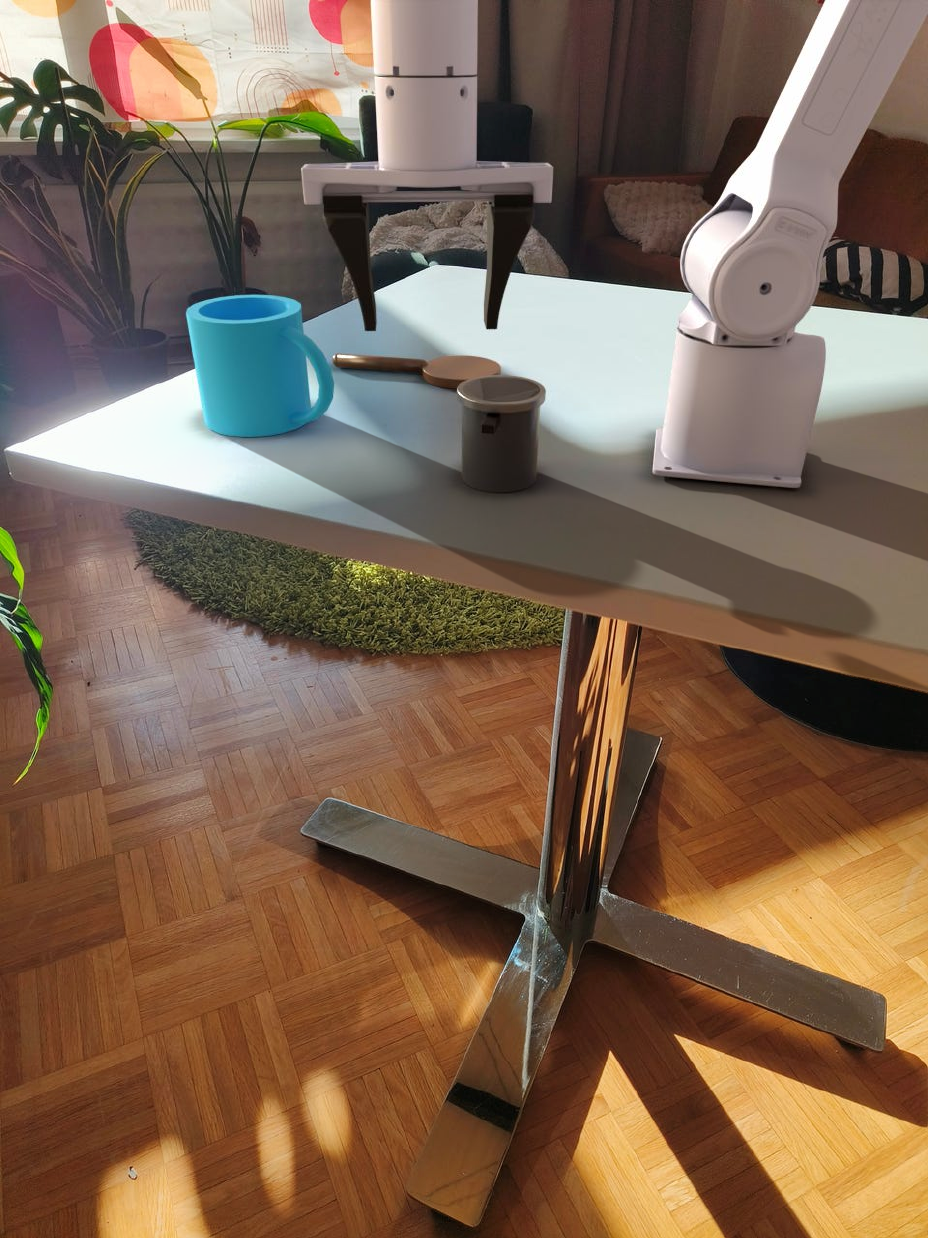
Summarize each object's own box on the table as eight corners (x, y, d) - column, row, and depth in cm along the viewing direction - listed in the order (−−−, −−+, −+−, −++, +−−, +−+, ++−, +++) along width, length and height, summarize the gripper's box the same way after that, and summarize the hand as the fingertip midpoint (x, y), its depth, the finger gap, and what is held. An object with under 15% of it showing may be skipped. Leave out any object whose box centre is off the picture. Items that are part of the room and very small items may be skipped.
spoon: (506, 366, 77) (507, 353, 77) (492, 391, 72) (493, 377, 71) (345, 355, 80) (344, 342, 79) (320, 378, 74) (318, 364, 74)
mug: (181, 421, 66) (161, 311, 61) (259, 392, 71) (246, 289, 67) (297, 457, 60) (283, 339, 56) (371, 422, 66) (365, 312, 61)
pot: (546, 463, 59) (551, 378, 56) (530, 509, 53) (535, 416, 50) (466, 456, 60) (467, 371, 57) (442, 500, 54) (441, 409, 51)
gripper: (545, 73, 51) (535, 308, 59) (301, 73, 51) (322, 311, 58) (564, 77, 46) (549, 337, 53) (288, 77, 45) (313, 341, 52)
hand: (430, 326), depth 55 cm, fingers open, 7 cm apart
